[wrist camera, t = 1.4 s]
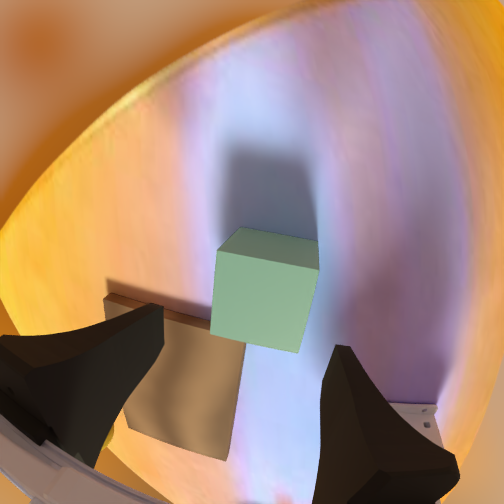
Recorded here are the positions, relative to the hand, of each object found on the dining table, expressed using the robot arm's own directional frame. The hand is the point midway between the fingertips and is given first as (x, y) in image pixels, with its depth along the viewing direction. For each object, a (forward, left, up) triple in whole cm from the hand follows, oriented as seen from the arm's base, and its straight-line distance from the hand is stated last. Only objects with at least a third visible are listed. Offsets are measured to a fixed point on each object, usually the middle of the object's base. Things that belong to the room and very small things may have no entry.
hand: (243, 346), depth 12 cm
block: (0, 0, -9) cm, 9 cm away
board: (+7, +14, -8) cm, 18 cm away
